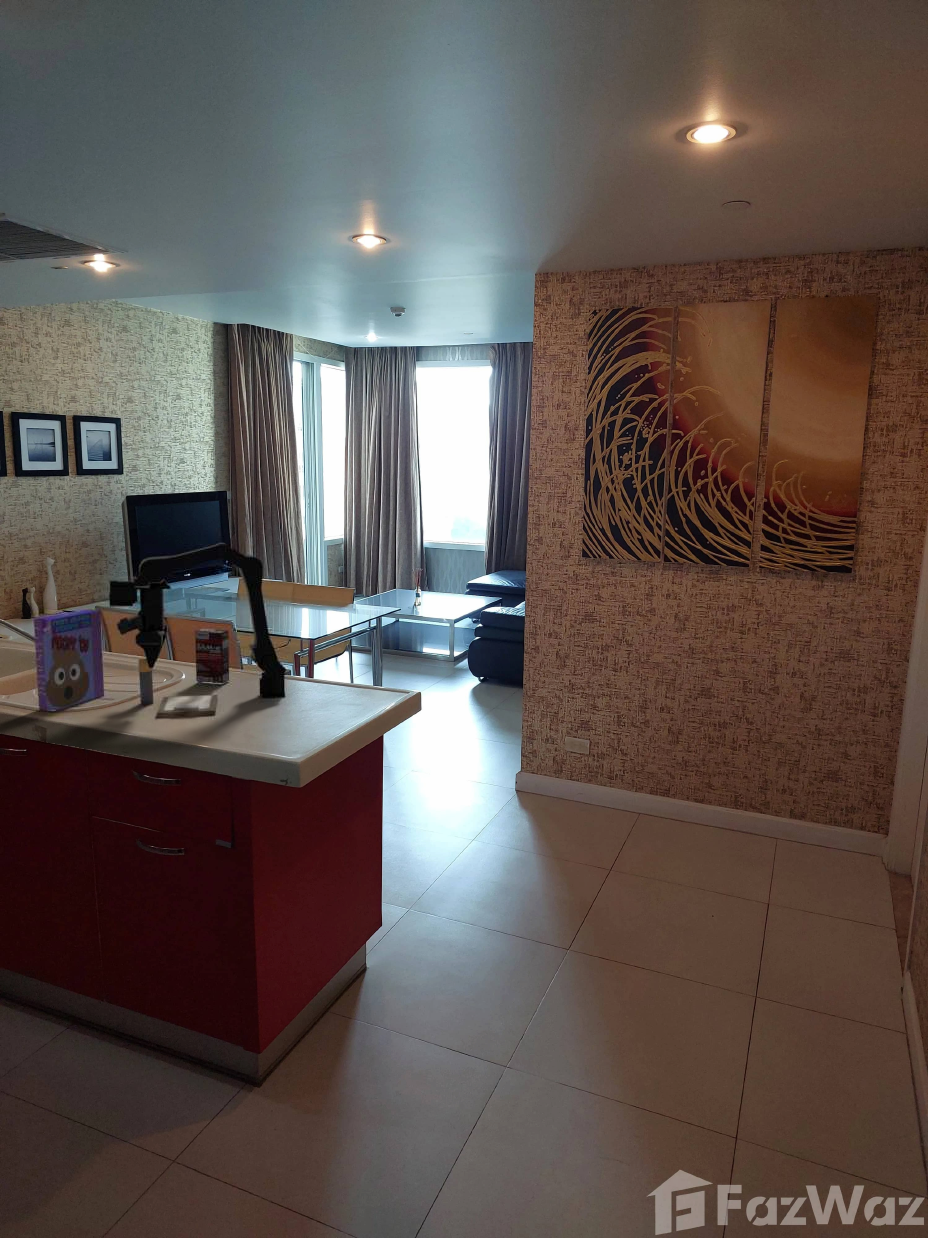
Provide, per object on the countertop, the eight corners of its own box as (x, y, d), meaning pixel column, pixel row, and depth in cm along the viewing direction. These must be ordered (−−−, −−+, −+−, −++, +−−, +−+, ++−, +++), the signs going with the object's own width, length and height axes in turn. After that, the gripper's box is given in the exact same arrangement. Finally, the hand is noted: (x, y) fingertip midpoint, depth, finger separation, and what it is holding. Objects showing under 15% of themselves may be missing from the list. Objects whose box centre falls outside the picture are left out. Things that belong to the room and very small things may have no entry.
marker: (154, 701, 217) (153, 658, 215) (152, 705, 214) (151, 660, 212) (141, 702, 216) (139, 658, 214) (139, 705, 213) (137, 661, 211)
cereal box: (53, 712, 205) (48, 619, 201) (39, 710, 206) (33, 617, 202) (104, 696, 221) (100, 610, 217) (90, 694, 223) (86, 608, 219)
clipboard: (217, 698, 221) (217, 691, 221) (215, 715, 206) (214, 706, 206) (163, 701, 218) (163, 693, 217) (157, 717, 202) (156, 709, 202)
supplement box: (195, 683, 237) (194, 631, 235) (203, 680, 242) (202, 628, 239) (223, 685, 236) (221, 632, 233) (230, 681, 240) (229, 629, 238)
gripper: (124, 600, 217) (125, 657, 220) (113, 611, 199) (114, 672, 202) (167, 601, 220) (168, 656, 222) (160, 611, 202) (161, 672, 205)
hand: (153, 664), depth 213 cm, fingers open, 8 cm apart
